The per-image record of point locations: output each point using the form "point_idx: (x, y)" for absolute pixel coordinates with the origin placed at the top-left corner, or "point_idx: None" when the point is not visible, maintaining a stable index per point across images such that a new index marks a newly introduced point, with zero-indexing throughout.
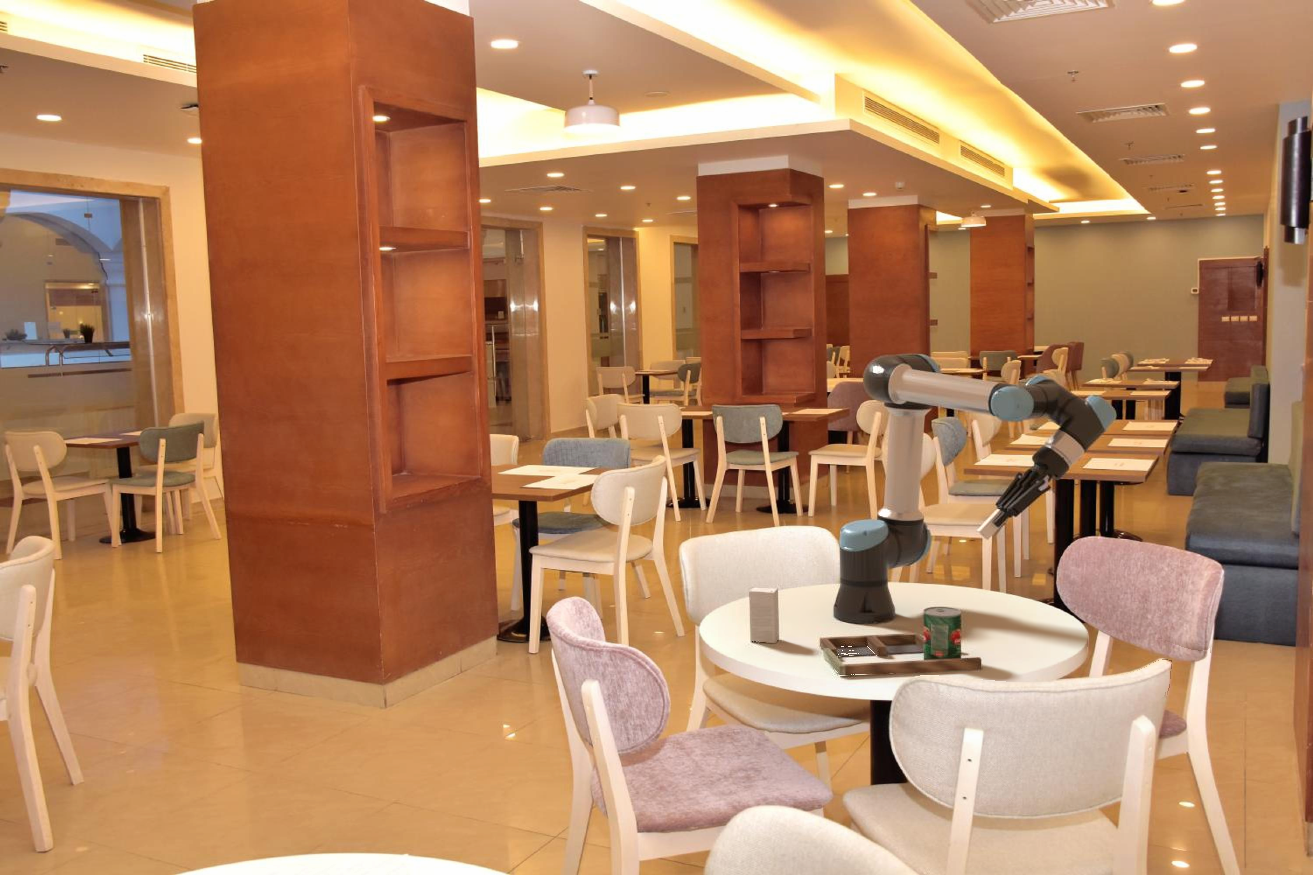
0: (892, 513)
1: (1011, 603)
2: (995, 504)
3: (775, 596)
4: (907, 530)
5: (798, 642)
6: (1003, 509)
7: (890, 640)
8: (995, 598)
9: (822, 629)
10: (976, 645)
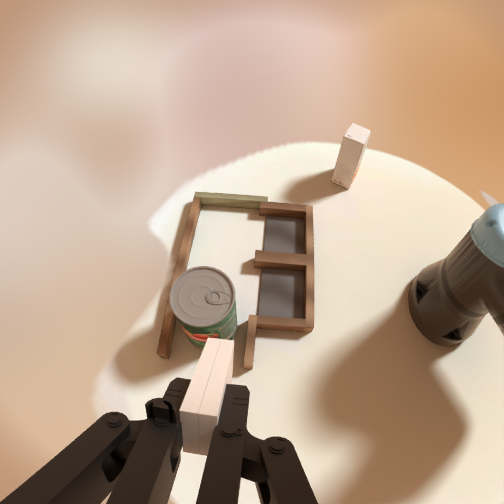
0: None
1: None
2: (284, 438)
3: (347, 143)
4: None
5: (333, 201)
6: (152, 413)
7: (305, 288)
8: (492, 499)
9: (386, 240)
10: (274, 409)
